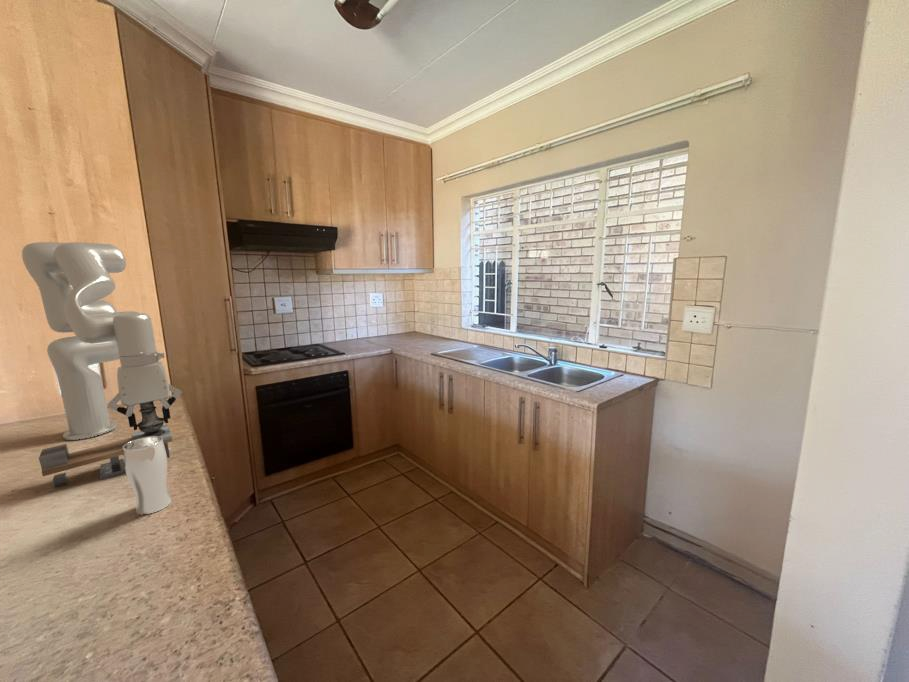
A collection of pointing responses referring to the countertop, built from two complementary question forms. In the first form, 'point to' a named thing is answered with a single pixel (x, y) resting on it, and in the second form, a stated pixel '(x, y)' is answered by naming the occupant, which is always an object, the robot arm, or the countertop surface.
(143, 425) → the chess piece
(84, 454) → the beam
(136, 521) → the countertop surface
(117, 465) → the beam stand
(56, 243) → the robot arm
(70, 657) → the countertop surface
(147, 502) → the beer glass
